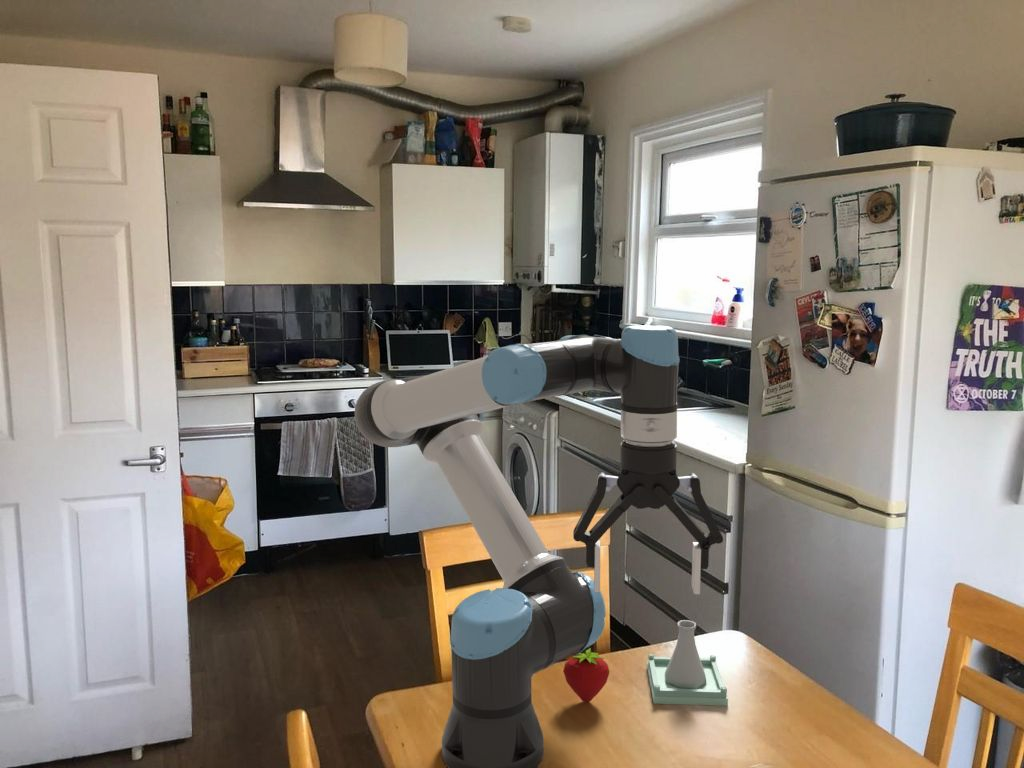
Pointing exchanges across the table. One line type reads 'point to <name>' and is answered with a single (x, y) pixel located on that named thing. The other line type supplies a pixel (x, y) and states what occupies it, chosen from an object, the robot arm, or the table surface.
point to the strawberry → (586, 674)
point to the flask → (685, 660)
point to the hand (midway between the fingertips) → (646, 589)
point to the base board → (671, 694)
